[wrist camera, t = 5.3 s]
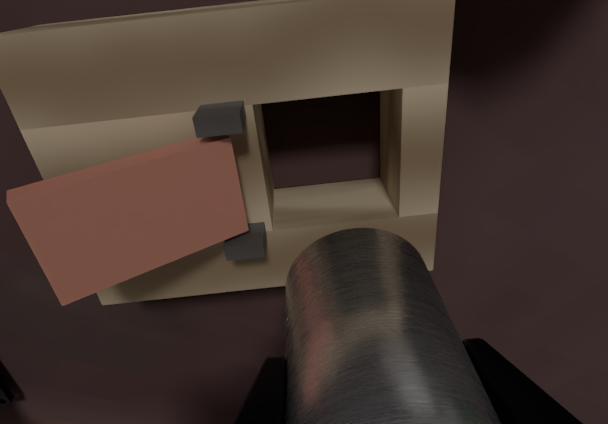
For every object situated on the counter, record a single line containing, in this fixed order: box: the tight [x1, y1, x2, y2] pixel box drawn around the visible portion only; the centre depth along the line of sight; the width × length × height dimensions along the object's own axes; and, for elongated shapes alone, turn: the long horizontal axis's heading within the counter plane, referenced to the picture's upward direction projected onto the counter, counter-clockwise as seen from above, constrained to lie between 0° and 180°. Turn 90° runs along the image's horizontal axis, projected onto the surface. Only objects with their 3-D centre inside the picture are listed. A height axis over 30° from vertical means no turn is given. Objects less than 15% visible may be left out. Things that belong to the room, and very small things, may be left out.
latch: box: [7, 135, 249, 306], centre depth 14 cm, size 7×4×1 cm, turn 95°
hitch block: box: [0, 0, 455, 305], centre depth 17 cm, size 12×16×6 cm
